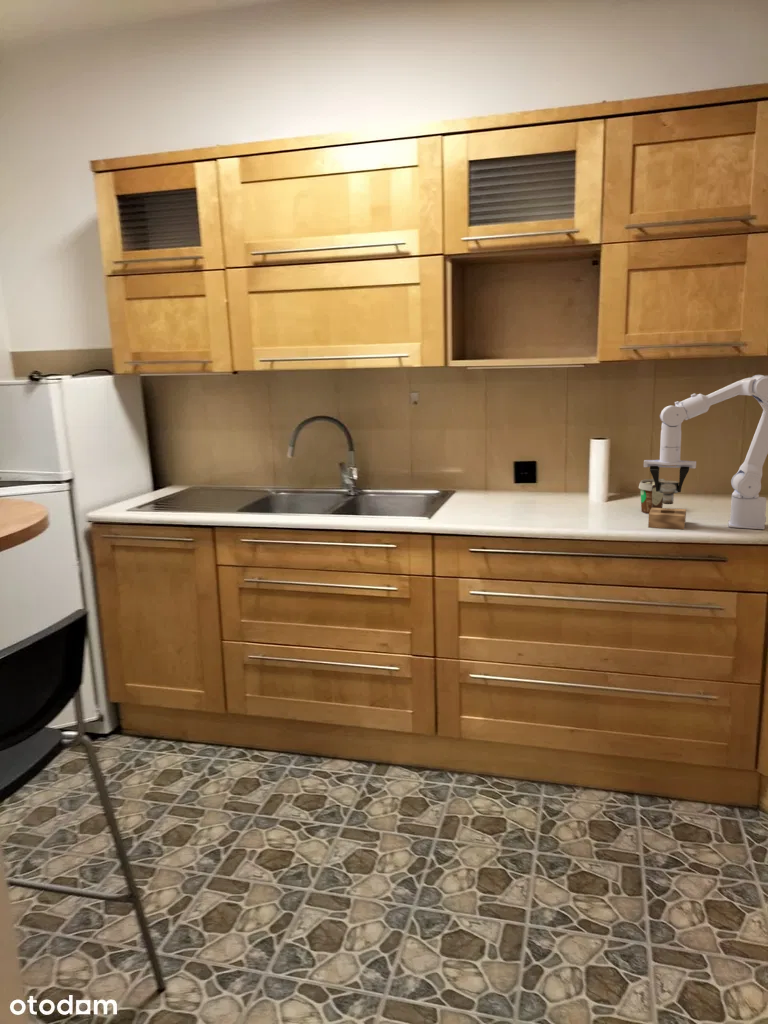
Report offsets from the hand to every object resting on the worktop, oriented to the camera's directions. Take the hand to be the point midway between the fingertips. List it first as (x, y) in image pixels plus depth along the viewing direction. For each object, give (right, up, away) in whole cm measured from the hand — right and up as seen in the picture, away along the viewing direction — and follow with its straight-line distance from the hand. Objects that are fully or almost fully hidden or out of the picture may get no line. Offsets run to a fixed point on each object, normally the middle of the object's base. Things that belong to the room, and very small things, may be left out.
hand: (668, 491), depth 223 cm
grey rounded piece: (0, -4, +1) cm, 4 cm away
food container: (+2, -6, +22) cm, 23 cm away
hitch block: (0, -10, +2) cm, 10 cm away
